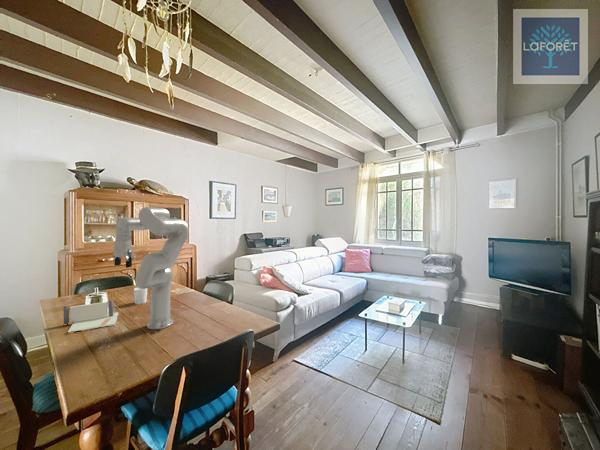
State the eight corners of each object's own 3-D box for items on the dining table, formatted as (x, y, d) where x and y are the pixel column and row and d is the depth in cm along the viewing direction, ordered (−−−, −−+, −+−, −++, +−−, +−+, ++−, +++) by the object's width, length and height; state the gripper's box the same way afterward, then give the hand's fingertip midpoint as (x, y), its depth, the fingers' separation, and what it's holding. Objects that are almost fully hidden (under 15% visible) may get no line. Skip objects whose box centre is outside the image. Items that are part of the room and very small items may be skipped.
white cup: (150, 301, 169) (150, 286, 169) (141, 305, 162) (141, 290, 161) (139, 300, 170) (139, 286, 170) (130, 304, 162) (130, 289, 162)
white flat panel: (107, 315, 140) (107, 301, 140) (107, 316, 139) (107, 302, 139) (70, 321, 132) (70, 306, 132) (70, 322, 131) (69, 307, 130)
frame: (114, 325, 130) (114, 307, 130) (55, 336, 118) (55, 316, 118) (118, 313, 146) (118, 297, 146) (66, 322, 134) (66, 304, 134)
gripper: (107, 237, 144) (106, 265, 145) (127, 239, 138) (126, 269, 139) (120, 236, 151) (119, 263, 152) (139, 238, 145) (139, 266, 146)
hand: (123, 266), depth 146 cm, fingers open, 9 cm apart
